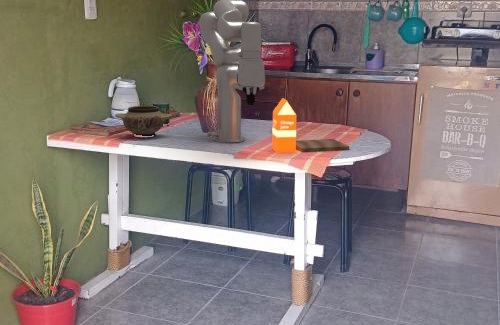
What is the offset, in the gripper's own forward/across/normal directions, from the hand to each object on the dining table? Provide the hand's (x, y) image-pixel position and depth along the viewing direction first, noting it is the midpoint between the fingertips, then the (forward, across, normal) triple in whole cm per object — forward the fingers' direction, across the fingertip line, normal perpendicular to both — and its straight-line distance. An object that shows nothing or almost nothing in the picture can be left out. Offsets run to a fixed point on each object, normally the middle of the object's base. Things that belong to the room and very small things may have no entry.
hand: (250, 104), depth 227 cm
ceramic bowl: (+18, -36, +42) cm, 58 cm away
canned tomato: (+17, -25, +69) cm, 76 cm away
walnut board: (+18, +29, +3) cm, 35 cm away
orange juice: (+18, +14, +1) cm, 23 cm away
